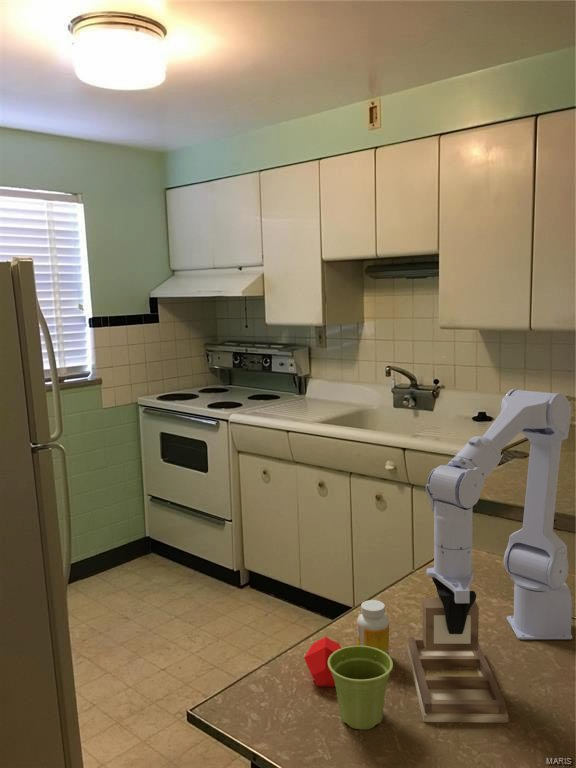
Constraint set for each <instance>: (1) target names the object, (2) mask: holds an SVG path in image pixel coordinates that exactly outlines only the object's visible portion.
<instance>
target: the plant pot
mask: <svg viewBox="0 0 576 768" xmlns="http://www.w3.org/2000/svg"><path fill="white" fill-rule="evenodd" d="M393 666H394V662H393V660H392V658H391V657H390V654H389V655H388V654H386V653H385V652H383V651H382V650H380V649H377V648H373V647H369V646H357V645H351V646H350V645H349V646H345V647H341V649H338V650H337V651H335V652H333V653H332V654H331V655H330V657H329V659H328V667H329V669H330V671H331V672H332V676H333V678H334V681H335V686H334V687H335V691H336V696H337V702H338V709H339V714H340V715H339V716H340V719H341V721H342V722H343V723H344V724H347V726H349V727H350V728H351V729H355V730H356V729H357V730H370V729H373V728H374V727H375V726H376V725H377V724H381V722H382V720H383V714H384V708H385V707H384V706H385V697H386V691H387V684H388V682H387V681H388V679H389V678H390V673H391V672H392V671H393V668H394V667H393Z"/></svg>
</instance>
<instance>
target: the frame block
mask: <svg viewBox="0 0 576 768" xmlns="http://www.w3.org/2000/svg"><path fill="white" fill-rule="evenodd" d="M479 611H480V609H479V606H478V604H477V601H475V602H474V603H473V604H472V606H471V608H470V610H469V612H468V615H467V619H466V623H465V627H464V631H463V634H449V632H448V629H447V625H446V618H445V612H444V607H443V604H442V601H441V599H440V598H439V597H422V637H423V642H424V645H425V649H426V651H478V643H479V621H480V620H479V619H480V618H479Z"/></svg>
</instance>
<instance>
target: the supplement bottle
mask: <svg viewBox="0 0 576 768" xmlns="http://www.w3.org/2000/svg"><path fill="white" fill-rule="evenodd" d="M356 620H357V621H356V637H357V638H356V646H369V647H373V648H377V649H380V650H382V651H383V652H385V653H386V654H388V655H389V656H390V621H389V618H388V617H387V615H386V605H385V603H384V602H383V601H380V600H376V599H369V600H368V599H367V600H365V601H363V602H362V603H361V605H360V614H359V615H358V617H357V619H356Z"/></svg>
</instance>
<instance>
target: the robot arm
mask: <svg viewBox="0 0 576 768" xmlns="http://www.w3.org/2000/svg"><path fill="white" fill-rule="evenodd" d="M500 406H501V407H500V413H499V414H498V415H497V417H496V419H494V421H493V422H492V424H491V425H490V426H489V428H488V429H487V430H486V432H485V433H484V434H483V435H482V436H481V435H480V436H479V435H478V436H477V435H476V436H473V437H471V438H470V439H469V440H468V441H467V443H466V444H465V445H464V446H462V448H461V449H460V450H459V451H458V452H457V454H455V456H453V458H452V459H451V460H450V461H449V462H448V463H447V464H441V465H439V466H437V467H435V468H433V469H432V470H431V472H430V473H429V475H428V477H427V483H426V484H425V492H426V496H427V497H428V499H429V501H430V502H429V503H430V510H431V511H432V513H433V518H434V519H433V531H434V533H433V535H434V536H433V538H434V539H433V543H434V544H433V545H434V546H433V555H434V556H433V559H434V560H433V564H434V565H433V567H428V568H426V571H425V572H426V576H427V577H429V578H431V580H432V582H433V583H434V586H435V587H436V592H437V595H438V598H440V599H441V601H442V604H443V607H444V612H445V618H446V625H447V629H448V632H449V634H463V631H464V627H465V623H466V619H467V615H468V612H469V610H470V608H471V606H472V604H473V603H474V602H476V600H477V593H476V592H475V590H470V588H471V584H472V582H473V578H474V571H473V506H475V505H477V503H478V501H479V499H480V497H481V493H482V489H483V488H484V487H485V480H486V479H487V478H488V476H489V475H491V473H492V472H493V471H494V470H495V468H496V467H498V465H499V464H500V463H501V462H502V454H501V451H502V450H503V449H504V448H505V447H506V446H508V444H509V443H510V442H512V441H513V440H514V439H515V438H516V437H517V436H518V435H519V434H520V433H522V435H523V434H524V435H525V437H526V439H527V440H528V441H529V443H530V448H529V457H528V469H527V479H526V489H525V500H524V508H523V509H524V510H523V518H522V519H523V520H522V528H520V529H518V530H516V531H514V532H513V533H511V534H510V535H509V539H508V543H507V546H506V549H505V551H504V556H503V565H504V566H503V567H504V569H505V571H506V572H507V574H509V575H510V580H511V581H513V582H514V584H513V585H514V586H513V587H514V589H513V615H507V616H506V620H507V621H508V623H509V626H510V627H511V628H512V630H513V632H514V634H515V636H516V637H517V639H518V640H572V639H573V635H572V617H573V616H572V615H573V614H572V613H573V612H572V611H573V610H572V609H573V603H572V602H573V601H572V596H571V595H572V594H571V591H570V588H569V586H568V584H567V583H566V580H567V577H568V575H569V569H570V568H569V561H568V546H567V545H566V543H565V542H564V541H563V540H562V539H561V538H560V537H559V536H558V535H557V534H556V533H555V532H554V523H555V522H554V521H555V511H556V501H557V490H558V480H559V470H560V460H561V459H560V458H561V449H562V441H564V440H567V439H569V432H570V424H571V414H572V406H571V404H570V401H569V400H568V398H567V397H566V395H565V393H564V394H563V393H562V392H556V393H554V392H545V391H544V392H543V391H531V390H524V389H522V390H521V389H518V388H512V389H510V390H508V392H506V395H505V396H504V397H502V400H501V404H500Z"/></svg>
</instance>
